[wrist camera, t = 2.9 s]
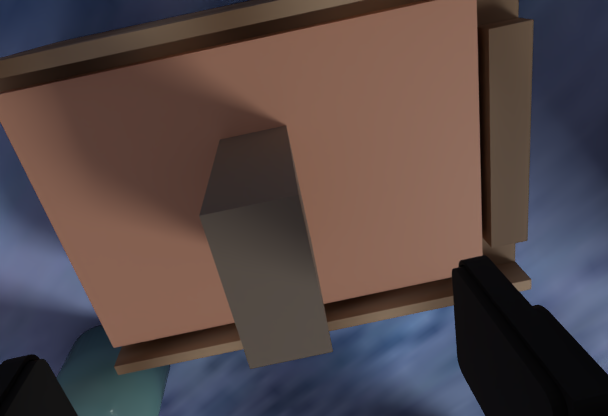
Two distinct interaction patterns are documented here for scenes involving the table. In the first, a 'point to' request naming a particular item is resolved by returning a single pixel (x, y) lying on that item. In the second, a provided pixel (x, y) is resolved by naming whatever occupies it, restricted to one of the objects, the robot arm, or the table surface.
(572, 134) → the table surface
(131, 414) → the teal rounded piece
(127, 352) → the box
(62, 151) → the brown piece
